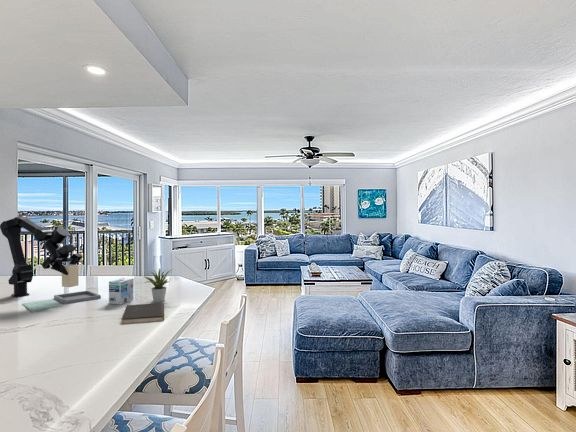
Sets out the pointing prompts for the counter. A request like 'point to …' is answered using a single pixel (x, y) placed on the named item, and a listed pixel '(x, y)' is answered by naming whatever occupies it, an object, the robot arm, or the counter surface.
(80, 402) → the counter surface
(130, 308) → the hardcover book
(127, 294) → the light bulb box
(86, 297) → the parts tray
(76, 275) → the carton
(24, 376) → the counter surface
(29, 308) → the mat
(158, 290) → the house plant
